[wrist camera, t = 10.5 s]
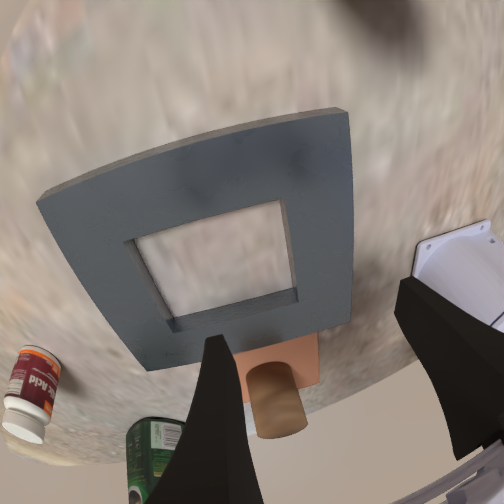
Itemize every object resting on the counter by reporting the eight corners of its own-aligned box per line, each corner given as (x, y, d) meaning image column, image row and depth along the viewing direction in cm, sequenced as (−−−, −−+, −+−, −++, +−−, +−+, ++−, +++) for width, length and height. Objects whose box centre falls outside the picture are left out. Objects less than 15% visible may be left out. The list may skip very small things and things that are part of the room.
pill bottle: (70, 370, 24) (58, 446, 17) (41, 374, 24) (27, 444, 17) (39, 340, 21) (17, 421, 14) (11, 347, 21) (-11, 420, 14)
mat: (315, 324, 25) (317, 329, 24) (318, 379, 31) (319, 382, 30) (200, 354, 24) (201, 359, 24) (229, 401, 30) (230, 405, 30)
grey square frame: (335, 107, 15) (348, 112, 13) (343, 308, 24) (350, 321, 23) (46, 190, 14) (35, 202, 13) (148, 357, 24) (147, 371, 22)
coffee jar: (171, 443, 37) (183, 555, 22) (120, 432, 33) (124, 553, 18) (202, 423, 33) (223, 558, 18) (143, 410, 29) (152, 561, 14)
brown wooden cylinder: (288, 356, 26) (306, 415, 21) (293, 378, 28) (308, 430, 24) (240, 369, 26) (252, 428, 21) (250, 389, 28) (262, 442, 24)
